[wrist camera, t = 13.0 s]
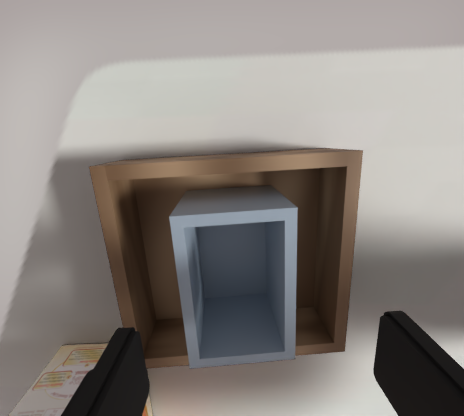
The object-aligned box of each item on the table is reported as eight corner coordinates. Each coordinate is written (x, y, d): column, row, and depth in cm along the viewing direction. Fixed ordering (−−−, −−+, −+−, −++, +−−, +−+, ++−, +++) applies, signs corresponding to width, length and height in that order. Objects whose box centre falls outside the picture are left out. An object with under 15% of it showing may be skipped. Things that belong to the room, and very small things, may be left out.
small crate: (271, 185, 17) (297, 207, 11) (272, 294, 20) (295, 359, 14) (186, 190, 17) (169, 216, 11) (198, 300, 19) (189, 368, 14)
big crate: (327, 148, 17) (362, 150, 13) (318, 308, 21) (344, 351, 17) (122, 160, 17) (88, 166, 13) (150, 321, 21) (132, 369, 16)
